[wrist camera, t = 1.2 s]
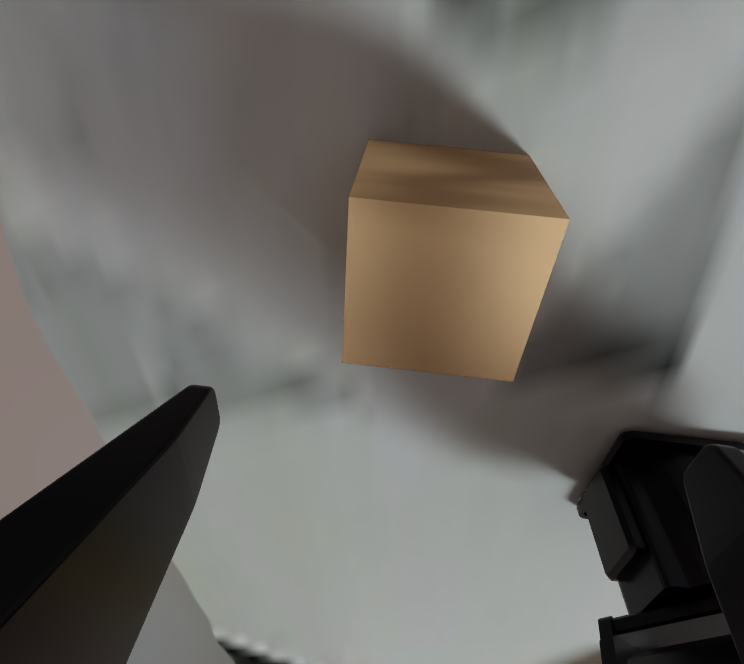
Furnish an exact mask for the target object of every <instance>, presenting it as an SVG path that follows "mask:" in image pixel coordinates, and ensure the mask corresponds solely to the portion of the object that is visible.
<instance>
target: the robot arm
mask: <svg viewBox="0 0 744 664" xmlns="http://www.w3.org/2000/svg"><path fill="white" fill-rule="evenodd" d="M219 425H220V415H219V410H218V405H217V399H216V394H215V391H214V389H213V388H212V387H209V386H201V385H190V386H188V387H186V388H185V389H183V390H182V391H181V392H179V393H178V394H176V395H175V396H174V397H172V398H171V399H169V400H168V401H167V402H165V403H164V404H162V405H161V406H160V407H158V408H157V409H155V410H154V411H153V412H151V413H150V414H148V415H147V416H146V417H144V418H143V419H141V420H140V421H138V422H137V423H136V424H134V425H133V426H131V427H130V428H129V429H127V430H126V431H124V432H123V433H122V434H120V435H119V436H117V437H116V438H115V439H113V440H112V441H110V442H109V443H108V444H106V445H105V446H103V447H102V448H101V449H99V450H98V451H96V452H95V453H94V454H92V455H91V456H89V457H88V458H86V459H85V460H84V461H82V462H81V463H80V464H78V465H77V466H75V467H74V468H73V469H71V470H70V471H68V472H67V473H65V474H64V475H63V476H62V477H60V478H58V479H57V480H56V481H54V482H53V483H52V484H50V485H49V486H47V487H46V488H44V489H43V490H42V491H40V492H39V493H37V494H36V495H34V496H33V497H32V498H30V499H29V500H27V501H26V502H25V503H23V504H22V505H20V506H19V507H18V508H16V509H15V510H13V511H12V512H11V513H9V514H8V515H6V516H5V517H4V518H2V519H1V520H0V664H126V663H127V660H128V658H129V656H130V654H131V651H132V649H133V647H134V644H135V642H136V640H137V638H138V635H139V633H140V631H141V628H142V626H143V624H144V621H145V619H146V617H147V614H148V612H149V610H150V608H151V605H152V603H153V601H154V599H155V596H156V594H157V591H158V589H159V587H160V585H161V582H162V580H163V578H164V576H165V573H166V571H167V569H168V566H169V564H170V562H171V559H172V557H173V555H174V553H175V550H176V548H177V546H178V543H179V541H180V539H181V536H182V534H183V532H184V530H185V527H186V525H187V523H188V520H189V518H190V516H191V513H192V511H193V508H194V506H195V503H196V500H197V497H198V494H199V491H200V488H201V485H202V481H203V478H204V475H205V472H206V468H207V465H208V462H209V459H210V455H211V452H212V449H213V446H214V442H215V439H216V436H217V433H218V429H219ZM577 510H578V513H579V516H580V517H581V518H584V519H588V520H589V523H590V526H591V529H592V532H593V535H594V539H595V542H596V545H597V548H598V551H599V555H600V558H601V561H602V564H603V567H604V570H605V574H606V575H607V576H608V578H609V579H610V580H611V581H618V583H619V586H620V589H621V592H622V595H623V598H624V601H625V604H626V607H627V610H628V613H629V615H625V616H620V617H616V618H613V617H612V616H609V617H605V618H600V619H598V624H599V631H600V639H601V640H600V650H601V658H602V664H744V443H735V442H727V441H718V440H709V439H700V438H691V437H682V436H673V435H664V434H655V433H647V432H638V431H628V432H624V433H623V434H621V435H620V436H619V437H618V438H617V440H616V442H615V443H614V445H613V447H612V448H611V450H610V452H609V453H608V455H607V457H606V458H605V460H604V462H603V463H602V465H601V467H600V468H599V469H598V471H597V473H596V474H595V476H594V478H593V479H592V481H591V483H590V484H589V486H588V488H587V489H586V491H585V493H584V494H583V496H582V498H581V500H580V502H579V503H578V505H577Z"/></svg>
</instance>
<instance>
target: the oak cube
mask: <svg viewBox="0 0 744 664" xmlns="http://www.w3.org/2000/svg"><path fill="white" fill-rule="evenodd" d="M569 221H570V219H569V217H568V216H567V214H566V212H565V211H564V209H563V208H562V206H561V205H560V203H559V201H558V200H557V198H556V197H555V195H554V194H553V192H552V190H551V189H550V187H549V186H548V184H547V183H546V181H545V179H544V178H543V176H542V175H541V173H540V172H539V170H538V168H537V167H536V165H535V164H534V162H533V161H532V159H531V157H530V156H529V155H522V154H512V153H501V152H491V151H481V150H471V149H460V148H450V147H440V146H430V145H419V144H409V143H399V142H388V141H378V140H369V141H368V143H367V146H366V149H365V152H364V155H363V158H362V161H361V164H360V166H359V169H358V172H357V175H356V178H355V181H354V184H353V187H352V189H351V192H350V195H349V206H348V230H347V255H346V279H345V304H344V329H343V353H342V363H350V364H359V365H368V366H377V367H386V368H395V369H404V370H413V371H422V372H431V373H440V374H449V375H458V376H467V377H476V378H485V379H494V380H503V381H512V382H513V380H514V377H515V374H516V371H517V369H518V366H519V363H520V360H521V357H522V354H523V351H524V349H525V346H526V343H527V340H528V337H529V334H530V332H531V329H532V326H533V323H534V320H535V317H536V314H537V312H538V309H539V306H540V303H541V300H542V297H543V295H544V292H545V289H546V286H547V283H548V280H549V278H550V275H551V272H552V269H553V266H554V263H555V260H556V258H557V255H558V252H559V249H560V246H561V243H562V241H563V238H564V235H565V232H566V229H567V226H568V223H569Z"/></svg>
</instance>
